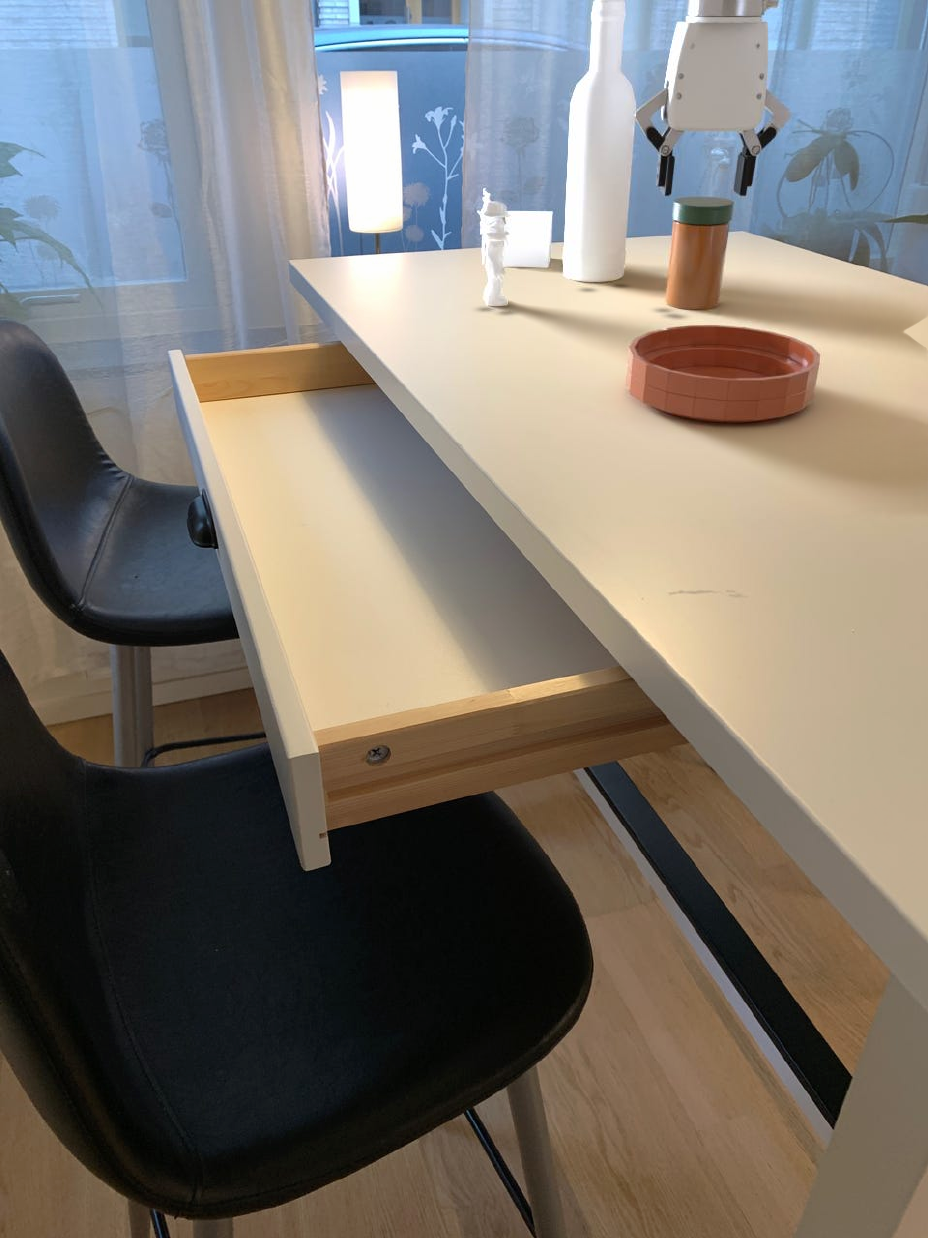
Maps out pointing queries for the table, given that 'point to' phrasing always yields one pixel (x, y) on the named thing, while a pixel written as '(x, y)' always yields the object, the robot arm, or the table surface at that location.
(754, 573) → the table surface
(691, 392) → the bowl
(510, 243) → the white cube
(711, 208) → the lid
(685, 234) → the jar
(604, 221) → the bottle
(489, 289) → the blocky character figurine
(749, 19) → the robot arm
